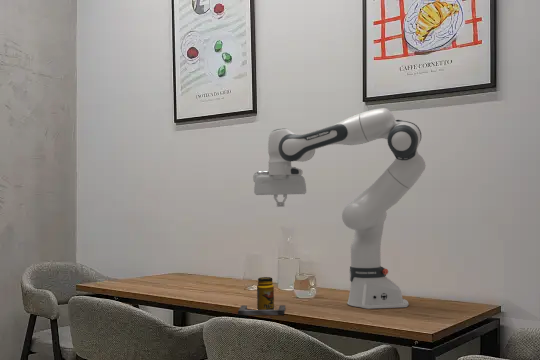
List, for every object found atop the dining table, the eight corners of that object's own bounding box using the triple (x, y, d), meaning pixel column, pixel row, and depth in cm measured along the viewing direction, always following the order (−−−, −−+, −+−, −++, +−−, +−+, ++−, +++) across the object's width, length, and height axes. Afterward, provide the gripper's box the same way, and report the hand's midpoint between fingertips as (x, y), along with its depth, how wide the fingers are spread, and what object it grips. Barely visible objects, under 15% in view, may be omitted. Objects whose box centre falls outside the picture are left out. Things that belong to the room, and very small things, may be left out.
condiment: (273, 313, 220) (273, 279, 221) (250, 313, 222) (249, 279, 222) (276, 309, 228) (275, 276, 228) (253, 309, 229) (252, 276, 229)
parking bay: (285, 309, 226) (285, 305, 226) (283, 315, 216) (283, 310, 216) (241, 309, 228) (241, 305, 228) (238, 315, 218) (238, 310, 218)
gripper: (252, 171, 239) (253, 207, 239) (305, 170, 237) (306, 206, 237) (254, 171, 245) (254, 206, 245) (306, 170, 244) (306, 205, 243)
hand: (280, 206), depth 241 cm, fingers closed
